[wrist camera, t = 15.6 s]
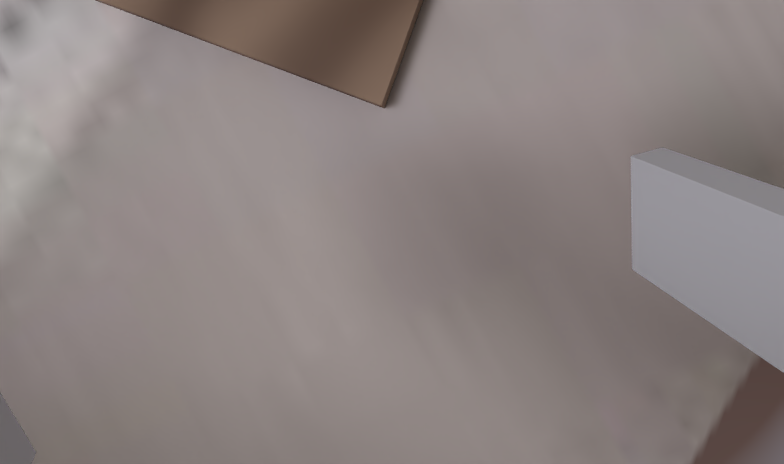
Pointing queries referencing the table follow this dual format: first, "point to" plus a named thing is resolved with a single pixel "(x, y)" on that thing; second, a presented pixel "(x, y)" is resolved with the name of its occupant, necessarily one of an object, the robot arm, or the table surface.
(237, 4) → the socket
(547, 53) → the table surface
